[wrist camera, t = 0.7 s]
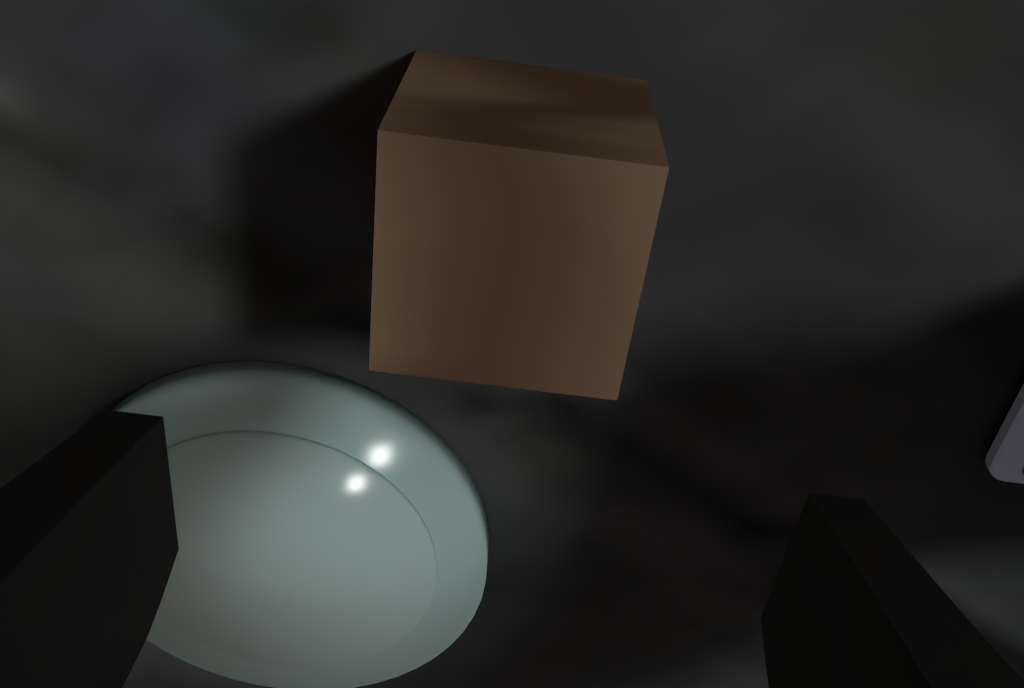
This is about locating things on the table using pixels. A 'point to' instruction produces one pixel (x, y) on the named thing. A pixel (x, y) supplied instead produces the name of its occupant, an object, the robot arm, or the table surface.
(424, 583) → the dish
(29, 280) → the table surface
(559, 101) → the block
